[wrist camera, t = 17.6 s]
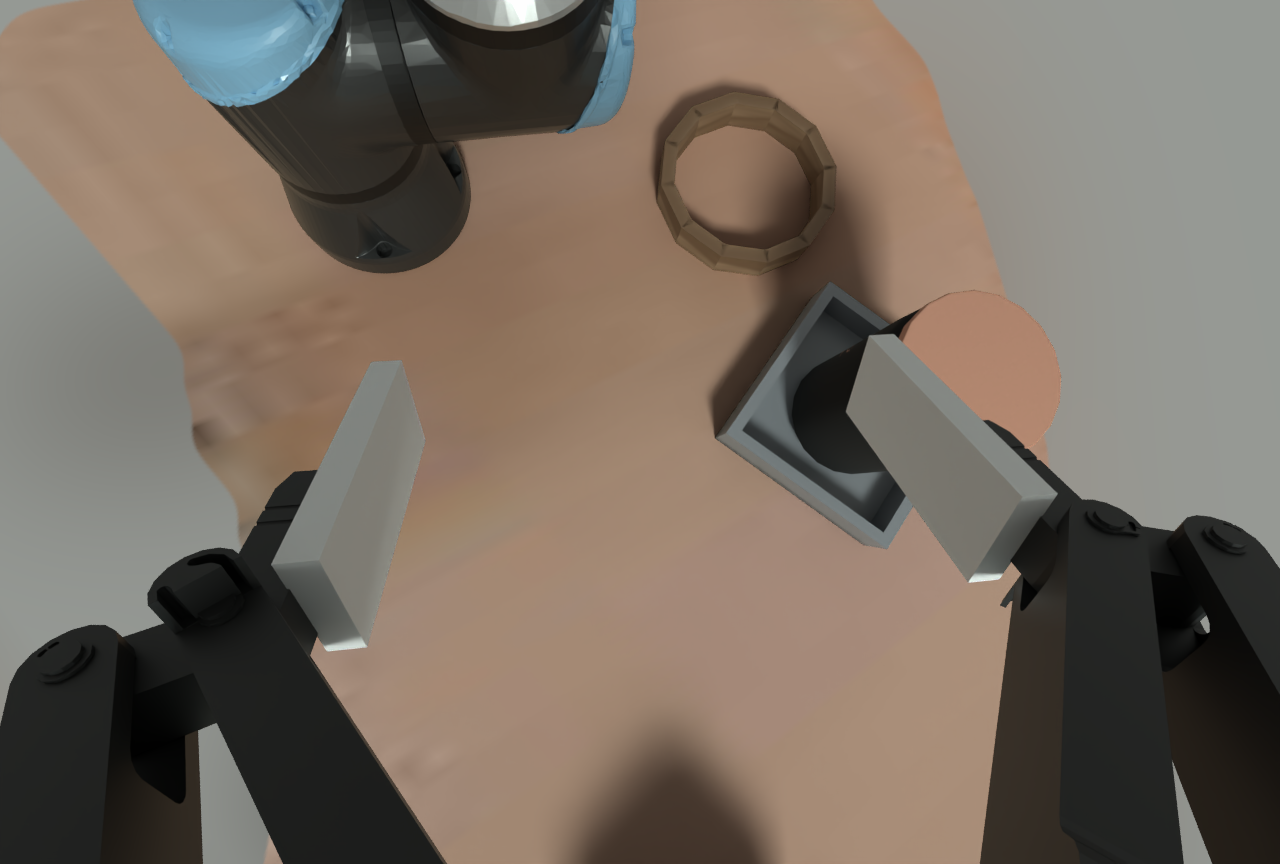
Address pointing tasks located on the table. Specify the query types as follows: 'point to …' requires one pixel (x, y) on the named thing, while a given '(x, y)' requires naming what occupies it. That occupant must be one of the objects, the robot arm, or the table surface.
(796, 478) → the tray
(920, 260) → the table surface
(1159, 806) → the robot arm
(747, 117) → the ring guard
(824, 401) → the coffee jar
